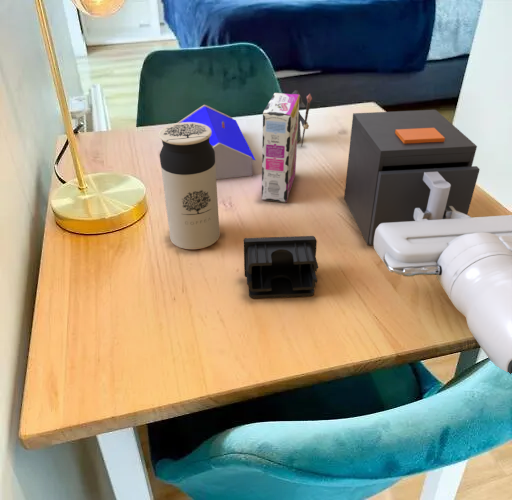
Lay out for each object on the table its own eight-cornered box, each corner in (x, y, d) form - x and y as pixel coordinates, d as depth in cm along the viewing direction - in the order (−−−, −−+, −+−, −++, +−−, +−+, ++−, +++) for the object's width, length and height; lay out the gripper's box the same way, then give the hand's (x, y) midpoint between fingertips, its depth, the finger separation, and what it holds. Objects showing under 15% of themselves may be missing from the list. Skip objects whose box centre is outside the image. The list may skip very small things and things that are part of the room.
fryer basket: (475, 257, 75) (496, 185, 68) (380, 264, 73) (392, 191, 67) (425, 193, 91) (438, 129, 84) (346, 198, 90) (353, 133, 83)
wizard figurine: (275, 141, 113) (275, 88, 106) (288, 133, 117) (289, 81, 110) (307, 150, 109) (310, 95, 102) (319, 141, 113) (323, 88, 106)
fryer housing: (452, 239, 81) (478, 142, 71) (367, 245, 80) (381, 147, 70) (418, 194, 93) (436, 106, 83) (343, 198, 92) (353, 109, 82)
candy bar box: (288, 203, 91) (291, 114, 81) (260, 201, 91) (260, 112, 82) (297, 175, 100) (300, 92, 90) (272, 173, 100) (273, 91, 91)
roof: (256, 175, 100) (255, 140, 96) (185, 182, 98) (182, 146, 93) (236, 133, 118) (235, 101, 113) (176, 138, 115) (172, 106, 111)
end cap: (311, 265, 75) (313, 227, 72) (318, 296, 70) (321, 256, 66) (244, 268, 75) (243, 229, 71) (245, 299, 69) (244, 259, 65)
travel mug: (171, 225, 85) (158, 122, 75) (218, 222, 86) (212, 120, 75) (169, 252, 78) (154, 143, 68) (220, 249, 79) (213, 141, 69)
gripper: (388, 296, 61) (357, 234, 73) (548, 284, 63) (494, 225, 74) (396, 254, 58) (362, 195, 69) (565, 243, 59) (506, 187, 71)
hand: (432, 211), depth 72 cm, fingers closed on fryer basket, 2 cm apart
